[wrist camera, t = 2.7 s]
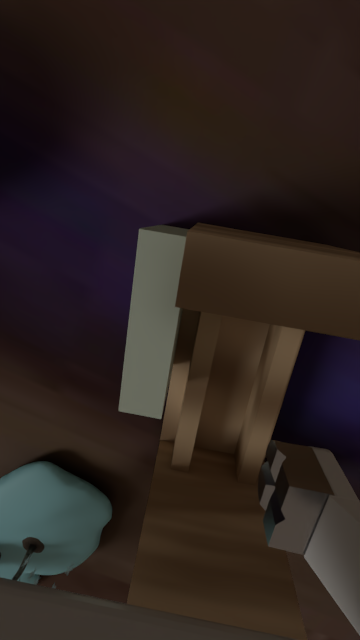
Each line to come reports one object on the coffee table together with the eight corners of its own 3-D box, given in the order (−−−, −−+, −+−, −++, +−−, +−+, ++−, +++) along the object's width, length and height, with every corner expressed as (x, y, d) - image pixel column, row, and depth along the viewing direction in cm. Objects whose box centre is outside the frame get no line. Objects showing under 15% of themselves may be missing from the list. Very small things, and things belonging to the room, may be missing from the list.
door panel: (162, 224, 19) (139, 228, 13) (196, 230, 19) (191, 237, 13) (144, 353, 22) (118, 410, 16) (174, 358, 22) (161, 418, 16)
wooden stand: (198, 222, 19) (187, 231, 8) (327, 244, 19) (510, 287, 8) (157, 453, 25) (118, 651, 14) (256, 472, 25) (298, 688, 13)
